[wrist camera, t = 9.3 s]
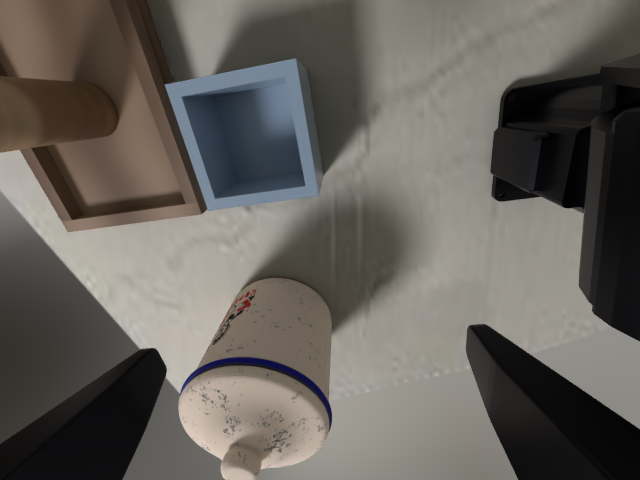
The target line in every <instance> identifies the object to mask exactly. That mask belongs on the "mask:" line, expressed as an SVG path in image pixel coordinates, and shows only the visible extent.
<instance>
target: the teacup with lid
mask: <svg viewBox="0 0 640 480" xmlns="http://www.w3.org/2000/svg"><path fill="white" fill-rule="evenodd" d="M331 334H332V319H331V314H330V311H329V308H328V306H327V304H326V303H325V301H324V300H323V299H322V298H321V296H320V295H319V294H318V293H316V292H315V291H314V290H313V289H311V288H310V287H308V286H306V285H304V284H302V283H300V282H297V281H294V280H290V279H285V278H268V279H262V280H259V281H256V282H254V283H252V284H250V285H248V286H246V287H245V288H244V289H242V290H241V291H240V292H239V294H238V295H237V296H236V298H235V299H234V301H233V303H232V305H231V307H230V308H229V310H228V312H227V314H226V316H225V318H224V320H223V321H222V323H221V325H220V327H219V329H218V331H217V332H216V334H215V336H214V338H213V340H212V342H211V344H210V345H209V347H208V349H207V351H206V353H205V355H204V357H203V358H202V360H201V362H200V364H199V366H198V368H197V369H196V370H195V371H194V372H193V373H192V374H191V375H190V376H189V377H188V378H187V380H186V381H185V383H184V384H183V387H182V389H181V393H180V399H179V416H180V420H181V422H182V425H183V427H184V429H185V430H186V432H187V433H188V435H189V436H190V437H191V438H192V439H193V440H194V441H195V442H196V443H197V444H198V445H199V446H201V447H202V448H203V449H205V450H206V451H208V452H209V453H211V454H213V455H215V456H217V457H218V458H220V459H221V460H222V463H221V473H222V476H223V478H224V479H225V480H256V479H257V478H258V476H259V474H260V470H261V469H265V468H277V467H285V466H289V465H293V464H296V463H299V462H301V461H303V460H305V459H307V458H309V457H311V456H312V455H313V454H315V453H316V452H317V451H318V450H319V449H320V447H321V446H322V445H323V443H324V442H325V440H326V438H327V435H328V432H329V430H330V427H331V423H332V412H331V408H330V404H329V380H330V357H331Z"/></svg>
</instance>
